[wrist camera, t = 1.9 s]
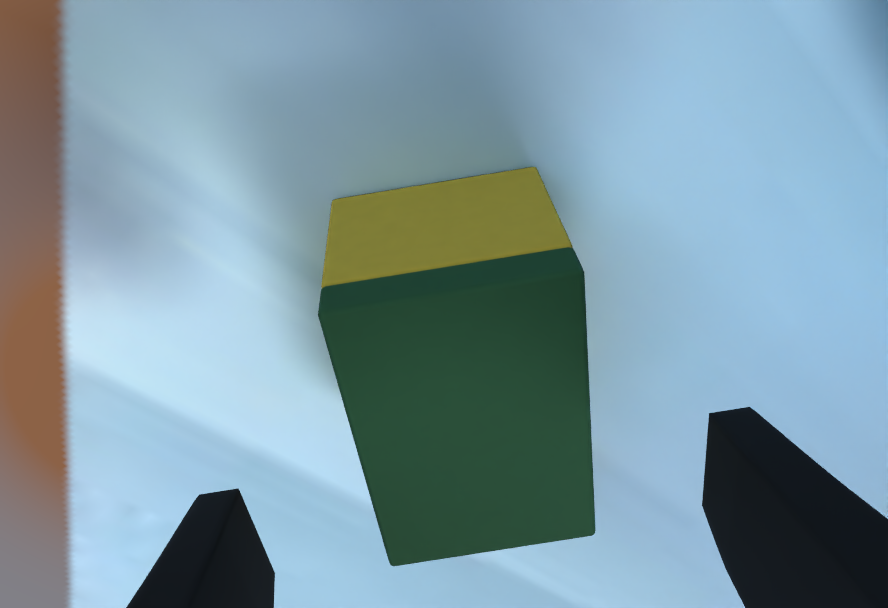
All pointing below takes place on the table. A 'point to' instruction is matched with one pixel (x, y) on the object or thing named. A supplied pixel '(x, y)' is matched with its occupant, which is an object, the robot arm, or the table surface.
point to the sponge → (462, 363)
